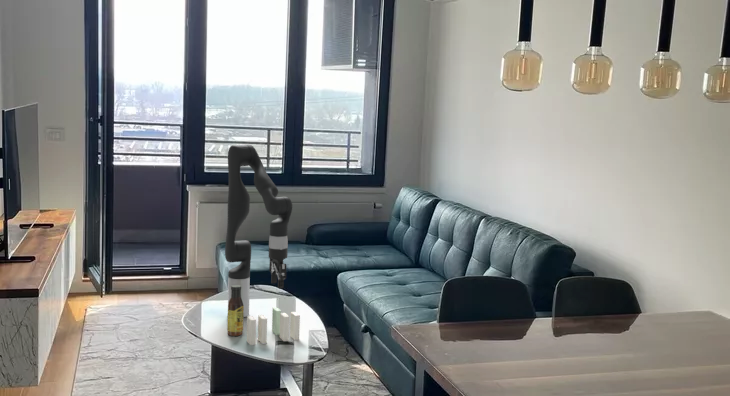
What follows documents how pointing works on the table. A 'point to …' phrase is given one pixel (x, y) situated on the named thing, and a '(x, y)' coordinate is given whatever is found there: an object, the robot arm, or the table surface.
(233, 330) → the sauce bottle
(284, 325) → the domino
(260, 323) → the domino
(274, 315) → the domino
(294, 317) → the domino
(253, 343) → the domino
